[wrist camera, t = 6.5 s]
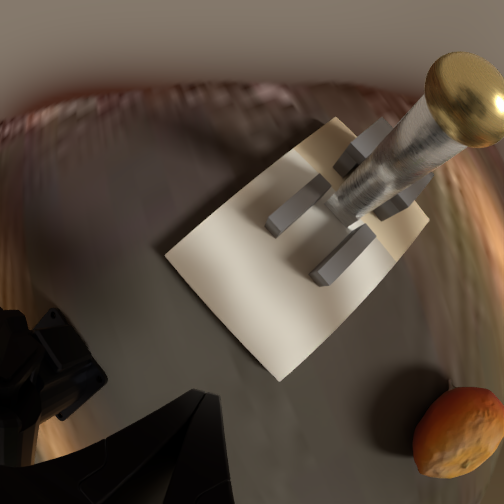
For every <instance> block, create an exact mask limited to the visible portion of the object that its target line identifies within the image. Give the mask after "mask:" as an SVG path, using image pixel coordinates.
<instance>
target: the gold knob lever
mask: <svg viewBox="0 0 504 504" xmlns="http://www.w3.org/2000/svg"><path fill="white" fill-rule="evenodd" d="M424 91H425V94H424V95H423V96H422V97H421V98H420V99H419V101H418V102H417V103H416V104H415V105H414V106H413V107H412V108H411V109H410V111H409V112H408V113H407V114H406V115H405V116H404V117H403V118H402V119H401V121H400V122H399V123H398V124H397V125H396V126H395V127H394V128H393V129H392V130H391V131H390V133H389V134H388V135H387V136H386V137H385V138H384V139H383V140H382V141H381V142H380V143H379V145H378V146H377V147H376V148H375V149H374V150H373V151H372V152H371V153H370V154H369V155H368V157H367V158H366V159H365V160H364V161H363V162H362V163H361V164H360V165H359V166H358V167H357V168H356V169H355V171H354V172H353V173H352V174H351V175H350V176H349V177H348V178H347V179H346V180H345V181H344V182H343V183H342V184H341V186H340V187H339V189H338V190H337V191H336V192H335V193H334V194H333V195H332V196H331V197H330V198H329V199H328V201H327V202H326V203H325V205H326V206H327V208H328V209H329V210H330V211H331V212H332V213H333V214H334V215H335V216H336V217H337V219H338V220H339V221H340V222H341V223H342V224H343V225H344V226H345V227H346V228H347V227H348V226H350V225H352V224H353V223H355V222H356V221H358V220H359V219H360V218H361V217H362V216H364V215H366V214H368V213H369V212H371V211H372V210H374V209H375V208H377V207H378V206H380V205H382V204H383V203H385V202H386V201H388V200H389V199H391V198H392V197H394V196H395V195H397V194H398V193H400V192H401V191H403V190H404V189H406V188H408V187H409V186H411V185H412V184H414V183H415V182H417V181H418V180H420V179H421V178H423V177H424V176H426V175H427V174H428V173H430V172H431V171H433V170H434V169H436V168H437V167H439V166H440V165H442V164H443V163H445V162H446V161H448V160H449V159H451V158H452V157H453V156H455V155H456V154H458V153H459V152H461V151H462V150H464V149H465V148H466V147H474V148H483V147H488V146H491V145H494V144H496V143H497V142H499V141H500V140H501V139H502V138H503V137H504V78H503V76H502V75H501V74H500V72H499V71H498V70H497V69H496V68H495V67H494V66H493V65H492V64H491V63H489V62H488V61H486V60H485V59H484V58H482V57H480V56H477V55H475V54H472V53H468V52H451V53H448V54H445V55H443V56H441V57H440V58H439V59H437V60H436V61H435V62H434V63H433V64H432V66H431V67H430V69H429V71H428V73H427V76H426V80H425V88H424Z"/></svg>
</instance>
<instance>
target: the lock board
mask: <svg viewBox="0 0 504 504" xmlns="http://www.w3.org/2000/svg"><path fill="white" fill-rule="evenodd" d="M392 129H393V128H392V126H391V125H390V124H389V123H388V122H387V121H386V120H385V119H384V118H383V117H381V118H380V119H379V120H377V121H376V122H375V123H374V124H373V125H371V126H370V127H369V128H368V129H366V130H365V131H364V132H363V133H362V134H360V135H359V136H358V137H357V136H356V135H355V134H354V133H352V132H351V131H350V130H349V129H348V128H347V127H346V126H345V125H344V124H343V123H342V122H341V121H340V120H339V119H338V118H337V117H335V118H333V119H332V120H331V121H329V122H328V123H327V124H325V125H324V126H322V127H321V128H320V129H318V130H317V131H316V132H314V133H313V134H312V135H310V136H309V137H308V138H306V139H305V140H304V141H302V142H301V143H300V144H298V145H297V146H296V147H294V148H293V149H292V150H290V151H289V152H288V153H287V154H285V155H284V156H283V157H281V158H280V159H279V160H278V161H276V162H275V163H274V164H272V165H271V166H270V167H269V168H267V169H266V170H265V171H264V172H262V173H261V174H260V175H259V176H257V177H256V178H255V179H254V180H252V181H251V182H250V183H249V184H247V185H246V186H245V187H244V188H242V189H241V190H240V191H239V192H238V193H236V194H235V195H234V196H233V197H231V198H230V199H229V200H228V201H227V202H225V203H224V204H223V205H222V206H221V207H219V208H218V209H217V210H216V211H215V212H214V213H212V214H211V215H210V216H209V217H208V218H206V219H205V220H204V221H203V222H202V223H201V224H200V225H198V226H197V227H196V228H195V229H194V230H193V231H191V232H190V233H189V234H188V235H187V236H186V237H185V238H183V239H182V240H181V241H180V242H179V243H178V244H177V245H176V246H174V247H173V248H172V249H171V250H170V251H169V252H168V253H167V254H165V257H166V258H167V259H168V260H169V262H170V263H171V264H172V265H173V266H174V268H175V269H176V270H177V271H178V272H179V273H180V275H181V276H182V277H183V278H184V279H185V281H186V282H187V283H188V284H189V285H190V286H191V288H192V289H193V290H194V291H195V292H196V293H197V294H198V296H199V297H200V298H201V299H202V300H203V301H204V302H205V304H206V305H207V306H208V307H209V308H210V309H211V310H212V311H213V312H214V314H215V315H216V316H217V317H218V318H219V319H220V320H221V321H222V322H223V324H224V325H225V326H226V327H227V328H228V329H229V330H230V331H231V332H232V333H233V334H234V335H235V336H236V338H237V339H238V340H239V341H240V342H241V343H242V344H243V345H244V346H245V347H246V348H247V349H248V350H249V351H250V352H251V353H252V354H253V355H254V356H255V357H256V358H257V360H258V361H259V362H260V363H261V364H262V365H263V366H264V367H265V368H266V369H267V370H268V371H269V372H270V373H271V374H272V375H273V376H274V377H275V378H276V379H277V380H278V381H279V382H280V381H281V380H282V379H283V378H285V377H286V376H287V375H288V374H289V373H290V372H291V371H292V370H294V369H295V368H296V367H297V366H298V365H299V364H300V363H301V362H302V361H303V360H305V359H306V358H307V357H308V356H309V355H310V354H311V353H312V352H313V351H314V350H315V349H316V348H317V347H318V346H319V345H320V344H321V343H322V342H323V341H324V340H325V339H327V338H328V337H329V336H330V335H331V334H332V333H333V332H334V331H335V330H336V329H337V328H338V327H339V325H340V324H341V323H342V322H343V321H344V320H345V319H346V318H347V317H348V316H349V315H350V314H351V313H352V312H353V311H354V310H355V309H356V308H357V307H358V306H359V304H360V303H361V302H362V301H363V300H364V299H365V298H366V297H367V296H368V295H369V294H370V292H371V291H372V290H373V289H374V288H375V287H376V286H377V285H378V283H379V282H380V281H381V280H382V279H383V278H384V276H385V275H386V274H387V273H388V272H389V271H390V269H391V268H392V267H393V266H394V265H395V263H396V262H397V261H398V260H399V259H400V257H401V256H402V255H403V254H404V252H405V251H406V250H407V249H408V247H409V246H410V245H411V244H412V242H413V241H414V240H415V238H416V237H417V236H418V235H419V233H420V232H421V231H422V229H423V228H424V227H425V225H426V224H427V223H428V221H429V219H428V217H427V216H426V215H425V213H424V212H423V211H422V210H421V208H420V207H419V206H418V204H417V203H416V202H415V201H414V200H415V199H416V198H417V196H418V195H419V194H420V193H421V191H422V190H423V189H424V188H425V186H426V185H427V184H428V183H429V181H430V180H431V179H432V177H433V176H434V174H433V173H432V171H431V172H430V173H428V174H427V175H426V176H424V177H423V178H421V179H420V180H418V181H417V182H415V183H414V184H412V185H411V186H409V187H408V188H406V189H404V190H403V191H401V192H400V193H398V194H397V195H395V196H394V197H392V198H391V199H389V200H388V201H386V202H385V203H383V204H382V205H380V206H378V207H377V208H375V209H374V210H372V211H371V212H369V213H368V214H366V215H364V216H362V217H361V218H360V219H359V220H358V221H356V222H355V223H353V224H352V225H350V226H348V227H347V228H346V227H345V226H344V225H343V224H342V223H341V222H340V221H339V220H338V219H337V217H336V216H335V215H334V214H333V213H332V212H331V211H330V210H329V209H328V208H327V206H326V205H325V203H326V202H327V201H328V199H329V198H330V197H331V196H332V195H333V194H334V193H335V192H336V191H337V190H338V189H339V187H340V186H341V184H342V183H343V182H344V181H345V180H346V179H347V178H348V177H349V176H350V175H351V174H352V173H353V172H354V171H355V169H356V168H357V167H358V166H359V165H360V164H361V163H362V162H363V161H364V160H365V159H366V158H367V157H368V155H369V154H370V153H371V152H372V151H373V150H374V149H375V148H376V147H377V146H378V145H379V143H380V142H381V141H382V140H383V139H384V138H385V137H386V136H387V135H388V134H389V133H390V131H391V130H392Z"/></svg>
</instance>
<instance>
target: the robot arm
mask: <svg viewBox="0 0 504 504" xmlns="http://www.w3.org/2000/svg"><path fill="white" fill-rule="evenodd" d="M54 312H55V314H56V317H54ZM98 376H100V377H101V378H102V381H100V380H99V378H98ZM107 381H108V378H107V376H106V374H105V373H104V372H103V370H102V369H101V368H100V367H99V365H98V364H97V363H96V361H95V360H94V359H93V358H92V356H91V353H90V351H89V350H88V349H87V347H86V346H85V344H84V343H83V342H82V340H81V339H80V337H79V336H78V335H77V333H76V332H75V330H74V329H73V327H72V326H71V325H69V324H68V323H67V321H66V319H65V318H64V316H63V315H62V313H61V312H60V310H59V309H57V308H51V309H50V310H49V311H48V312H47V313H46V314H45V315H44V317H43V318H42V319H41V320H40V321H39V323H38V324H37V325H36V326H35V327H34V329H33V330H29V329H28V325H27V322H26V318H25V315H23V314H22V313H21V312H20V311H19V310H3V309H2V308H1V307H0V504H235V502H234V498H233V493H232V486H231V481H230V473H229V466H228V458H227V450H226V442H225V434H224V426H223V417H222V408H221V398H220V395H218V394H214V393H209V392H208V393H205V392H204V391H201V390H197V389H191V390H189V391H188V392H186V393H184V394H183V395H181V396H180V397H178V398H176V399H175V400H173V401H171V402H170V403H168V404H166V405H165V406H163V407H161V408H160V409H158V410H156V411H154V412H153V413H151V414H149V415H147V416H146V417H144V418H142V419H140V420H138V421H137V422H135V423H133V424H131V425H129V426H128V427H126V428H124V429H122V430H120V431H118V432H116V433H114V434H113V435H111V436H109V437H107V438H106V439H103V440H101V441H99V442H97V443H95V444H92V445H90V446H88V447H86V448H84V449H81V450H79V451H76V452H73V453H71V454H68V455H65V456H62V457H58V458H55V459H52V460H48V461H45V462H41V463H38V464H34V461H35V451H36V443H37V436H38V430H39V425H40V424H41V423H43V422H45V421H46V420H48V419H50V418H51V417H53V416H54V415H55V416H56V417H57V418H58V419H59V420H60V421H64V420H66V419H67V418H68V417H69V416H70V415H71V414H73V413H74V412H75V411H76V410H77V409H78V408H79V407H81V406H82V405H83V404H84V403H85V402H86V401H87V400H88V399H90V398H91V397H92V396H93V395H94V394H95V393H96V392H97V391H99V390H100V389H101V388H102V387H103V386H104V385H105V384H106V383H107ZM60 413H61V414H62V415H61V414H60Z"/></svg>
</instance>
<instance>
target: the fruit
mask: <svg viewBox="0 0 504 504" xmlns="http://www.w3.org/2000/svg"><path fill="white" fill-rule="evenodd" d="M448 381H449V389H448V391H446V392H445V393H443V394H442V395H441V396H440V397H439V398H438V399H437V400H436V401H435V402H434V403H432V405H431V406H430V407H429V408H428V410H427V411H426V413H425V415H424V416H423V418H422V419H421V421H420V422H419V423H418V425H417V426H416V428H415V431H414V436H413V456H414V461H415V463H416V465H417V467H418V471H419V473H420V474H423V475H426V476H429V477H437V478H454V477H457V476H461V475H464V474H466V473H469V472H471V471H473V470H474V469H476V468H477V467H478V466H480V465H481V464H482V463H483V462H484V461H486V460H487V459H488V457H490V456H491V455H492V454H493V453H494V451H495V450H496V448H497V447H498V445H499V443H500V441H501V440H502V438H503V437H504V406H503V404H502V403H501V402H500V400H499V399H498V398H497V397H496V396H495V395H494V394H493V393H492V392H491V391H490V390H488V389H484V388H477V387H454V386H452V382H451V379H449V380H448Z"/></svg>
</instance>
